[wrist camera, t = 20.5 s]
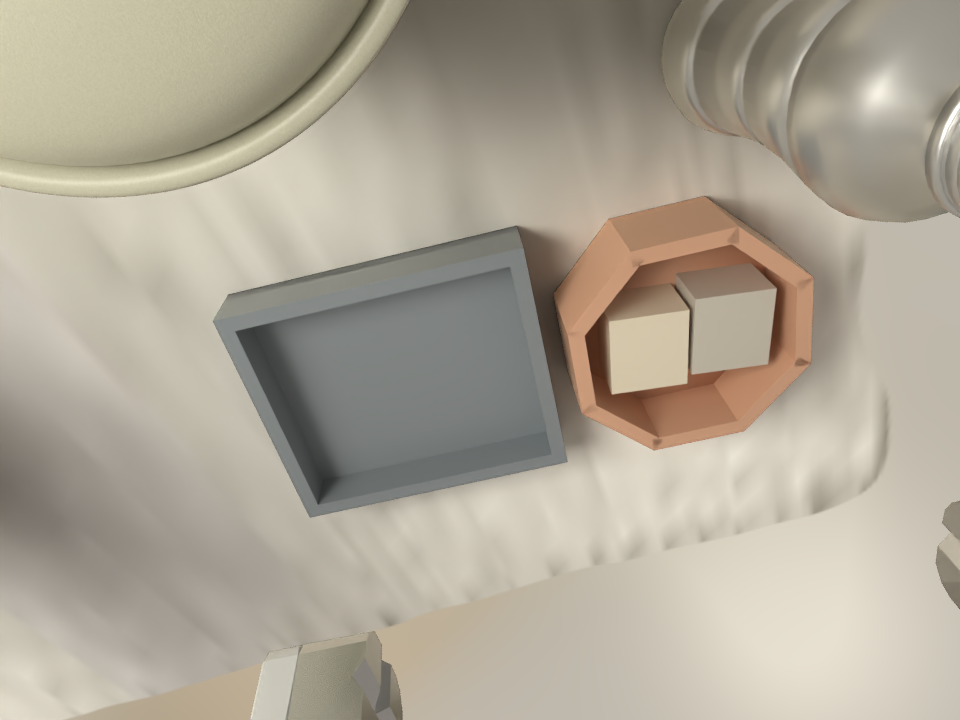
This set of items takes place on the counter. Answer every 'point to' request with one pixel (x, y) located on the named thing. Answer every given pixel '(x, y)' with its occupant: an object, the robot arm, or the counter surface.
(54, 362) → the counter surface
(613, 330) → the tan block
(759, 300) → the cream matte cube
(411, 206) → the counter surface
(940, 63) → the silver metal bottle
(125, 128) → the canister
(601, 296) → the terracotta bowl
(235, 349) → the slate tray
